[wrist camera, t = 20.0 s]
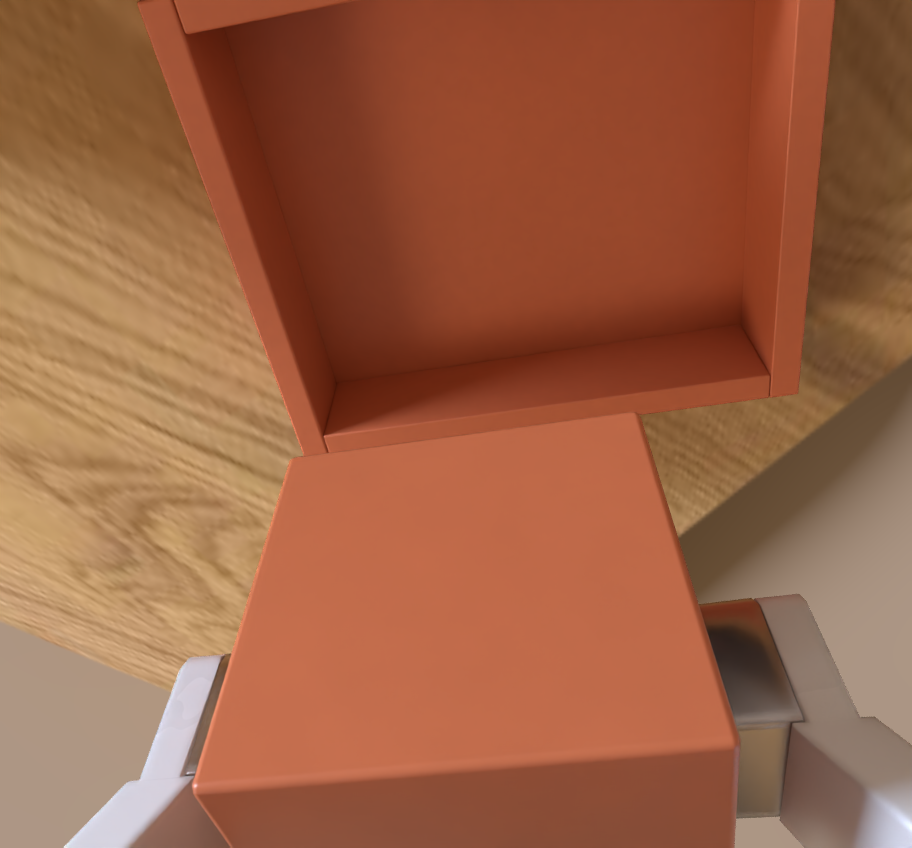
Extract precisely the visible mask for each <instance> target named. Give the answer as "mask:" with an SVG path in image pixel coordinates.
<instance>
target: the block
mask: <svg viewBox="0 0 912 848" xmlns="http://www.w3.org/2000/svg"><path fill="white" fill-rule="evenodd" d="M740 745H741V739H740V736H739V733H738V730H737V726H736V723H735V720H734V717H733V713H732V710H731V707H730V704H729V701H728V697H727V694H726V691H725V688H724V684H723V681H722V678H721V675H720V672H719V668H718V665H717V662H716V659H715V655H714V652H713V649H712V646H711V642H710V639H709V636H708V633H707V630H706V626H705V623H704V620H703V617H702V613H701V610H700V607H699V604H698V601H697V597H696V594H695V591H694V588H693V585H692V582H691V578H690V575H689V572H688V568H687V565H686V562H685V559H684V555H683V552H682V549H681V546H680V543H679V539H678V536H677V533H676V530H675V526H674V523H673V520H672V517H671V513H670V510H669V507H668V504H667V501H666V497H665V494H664V491H663V488H662V484H661V481H660V478H659V475H658V472H657V468H656V465H655V462H654V459H653V455H652V452H651V449H650V446H649V442H648V439H647V436H646V433H645V430H644V426H643V423H642V420H641V417H640V416H639V414H638V413H637V412H626V413H619V414H612V415H604V416H597V417H590V418H582V419H575V420H567V421H560V422H553V423H545V424H538V425H531V426H523V427H516V428H508V429H501V430H494V431H486V432H479V433H472V434H464V435H457V436H449V437H442V438H435V439H427V440H420V441H413V442H405V443H398V444H390V445H383V446H376V447H368V448H361V449H354V450H346V451H339V452H332V453H324V454H317V455H309V456H302V457H295V458H293V459H291V460H290V461H289V465H288V468H287V471H286V475H285V478H284V481H283V485H282V488H281V491H280V495H279V498H278V501H277V505H276V508H275V511H274V515H273V518H272V521H271V524H270V528H269V531H268V534H267V538H266V541H265V544H264V548H263V551H262V554H261V558H260V561H259V564H258V568H257V571H256V574H255V578H254V581H253V584H252V588H251V591H250V594H249V598H248V601H247V604H246V608H245V611H244V614H243V618H242V621H241V624H240V627H239V631H238V634H237V637H236V641H235V644H234V647H233V651H232V654H231V657H230V661H229V664H228V667H227V671H226V674H225V677H224V681H223V684H222V687H221V691H220V694H219V697H218V701H217V704H216V707H215V711H214V714H213V717H212V720H211V724H210V727H209V730H208V734H207V737H206V740H205V744H204V747H203V750H202V754H201V757H200V760H199V764H198V767H197V770H196V774H195V777H194V780H193V786H192V788H193V795H194V796H195V798H196V799H197V800H198V802H199V803H200V805H201V806H202V808H203V809H204V810H205V812H206V813H207V815H208V816H209V817H210V819H211V820H212V822H213V823H214V825H215V826H216V827H217V829H218V830H219V832H220V833H221V834H222V836H223V837H224V839H225V840H226V842H227V843H228V844H229V846H230V847H231V848H734V844H735V843H734V842H735V828H736V827H735V826H736V811H737V794H738V778H739V761H740Z"/></svg>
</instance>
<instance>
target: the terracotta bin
mask: <svg viewBox="0 0 912 848" xmlns="http://www.w3.org/2000/svg"><path fill="white" fill-rule="evenodd" d="M835 2H836V0H140V1H139V2H138V8H139V11H140V13H141V16H142V19H143V22H144V24H145V27H146V30H147V32H148V35H149V38H150V41H151V43H152V46H153V49H154V51H155V54H156V57H157V59H158V62H159V65H160V68H161V70H162V73H163V76H164V78H165V81H166V84H167V87H168V89H169V92H170V95H171V97H172V100H173V103H174V105H175V108H176V111H177V114H178V116H179V119H180V122H181V124H182V127H183V130H184V133H185V135H186V138H187V141H188V143H189V146H190V149H191V152H192V154H193V157H194V160H195V162H196V165H197V168H198V170H199V173H200V176H201V179H202V181H203V184H204V187H205V189H206V192H207V195H208V198H209V200H210V203H211V206H212V208H213V211H214V214H215V216H216V219H217V222H218V225H219V227H220V230H221V233H222V235H223V238H224V241H225V244H226V246H227V249H228V252H229V254H230V257H231V260H232V262H233V265H234V268H235V271H236V273H237V276H238V279H239V281H240V284H241V287H242V290H243V292H244V295H245V298H246V300H247V303H248V306H249V309H250V311H251V314H252V317H253V319H254V322H255V325H256V327H257V330H258V333H259V336H260V338H261V341H262V344H263V346H264V349H265V352H266V355H267V357H268V360H269V363H270V365H271V368H272V371H273V373H274V376H275V379H276V382H277V384H278V387H279V390H280V392H281V395H282V398H283V401H284V403H285V406H286V409H287V411H288V414H289V417H290V420H291V422H292V425H293V428H294V430H295V433H296V436H297V438H298V441H299V444H300V447H301V449H302V452H303V455H304V456H309V455H317V454H324V453H332V452H339V451H346V450H354V449H361V448H368V447H376V446H383V445H390V444H398V443H405V442H413V441H420V440H427V439H435V438H442V437H449V436H457V435H464V434H472V433H479V432H486V431H494V430H501V429H508V428H516V427H523V426H531V425H538V424H545V423H553V422H560V421H567V420H575V419H582V418H590V417H597V416H604V415H612V414H619V413H626V412H637V413H638V414H639V415H642V414H650V413H657V412H665V411H672V410H680V409H687V408H695V407H702V406H710V405H717V404H725V403H732V402H739V401H747V400H754V399H762V398H768V397H769V396H770V397H778V396H786V395H793V394H798V389H799V379H800V368H801V358H802V347H803V337H804V326H805V316H806V305H807V295H808V284H809V274H810V264H811V253H812V243H813V232H814V222H815V211H816V201H817V190H818V180H819V169H820V159H821V148H822V138H823V127H824V117H825V106H826V96H827V86H828V75H829V65H830V54H831V44H832V33H833V23H834V12H835Z"/></svg>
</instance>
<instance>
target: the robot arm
mask: <svg viewBox="0 0 912 848" xmlns="http://www.w3.org/2000/svg"><path fill="white" fill-rule="evenodd" d="M699 607H700V610H701V613H702V617H703V620H704V623H705V626H706V630H707V633H708V636H709V639H710V642H711V646H712V649H713V652H714V655H715V659H716V662H717V665H718V668H719V672H720V675H721V678H722V681H723V684H724V688H725V691H726V694H727V697H728V701H729V704H730V707H731V710H732V713H733V717H734V720H735V723H736V726H737V730H738V733H739V736H740V739H741V745H740V761H739V778H738V794H737V811H736V818H756V817H778V816H780V821H781V822H782V823H783V824H784V826H785V827H786V828H787V829H788V830H789V831H790V832H791V833H792V834H793V835H794V836H795V838H796V839H797V840H798V841H799V842H800V843H801V844H802V845H803V846H804V848H912V745H911V744H910V743H908V742H907V741H906V740H904V739H903V738H902V737H900V736H899V735H898V734H896V733H895V732H894V731H893V730H891V729H890V728H889V727H887V726H886V725H885V724H883V723H882V722H881V721H879V720H878V719H877V718H876V717H860V716H859V714H858V712H857V710H856V707H855V705H854V703H853V701H852V699H851V697H850V695H849V692H848V690H847V689H846V686H845V684H844V682H843V679H842V677H841V675H840V673H839V671H838V669H837V667H836V664H835V662H834V660H833V658H832V656H831V653H830V651H829V649H828V647H827V645H826V643H825V641H824V638H823V636H822V634H821V632H820V630H819V628H818V625H817V623H816V621H815V619H814V617H813V615H812V612H811V610H810V608H809V606H808V604H807V602H806V600H805V599H804V598H803V597H802V596H801V595H800V594H792V595H784V596H774V597H764V598H755V599H754V600H753V599H752V598H747V599H738V600H731V601H722V602H714V603H706V604H699ZM230 657H231V654H222V655H211V656H200V657H190V658H189V659H188V660H187V661H186V663H185V664H184V665H183V666H182V667H181V669H180V670H179V673H178V676H177V679H176V681H175V684H174V687H173V690H172V692H171V695H170V698H169V701H168V704H167V706H166V709H165V711H164V714H163V717H162V720H161V722H160V725H159V728H158V731H157V733H156V736H155V739H154V741H153V744H152V747H151V750H150V752H149V755H148V758H147V761H146V763H145V766H144V769H143V771H142V774H141V777H140V780H136V781H128V782H127V783H126V784H125V785H124V786H123V787H122V788H121V789H120V790H119V791H118V792H117V793H116V794H115V795H114V796H113V797H112V799H110V800H109V802H107V803H106V804H105V805H104V806H103V808H102V809H100V811H98V813H97V814H96V815H95V816H94V817H93V818H92V819H91V820H90V821H89V822H88V823H87V824H86V825H85V826H84V827H83V828H82V829H81V830H80V831H79V832H78V833H77V834H76V835H75V836H74V837H73V838H72V839H71V840H70V841H69V842H68V843H67V844H66V845H65V846H64V847H63V848H231V847H230V846H229V844H228V843H227V842H226V840H225V839H224V837H223V836H222V834H221V833H220V832H219V830H218V829H217V827H216V826H215V825H214V823H213V822H212V820H211V819H210V817H209V816H208V815H207V813H206V812H205V810H204V809H203V808H202V806H201V805H200V803H199V802H198V800H197V799H196V798H195V796H194V795H193V788H192V786H193V780H194V777H195V774H196V770H197V767H198V764H199V760H200V757H201V754H202V750H203V747H204V744H205V740H206V737H207V734H208V730H209V727H210V724H211V720H212V717H213V714H214V711H215V707H216V704H217V701H218V697H219V694H220V691H221V687H222V684H223V681H224V677H225V674H226V671H227V667H228V664H229V661H230Z"/></svg>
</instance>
